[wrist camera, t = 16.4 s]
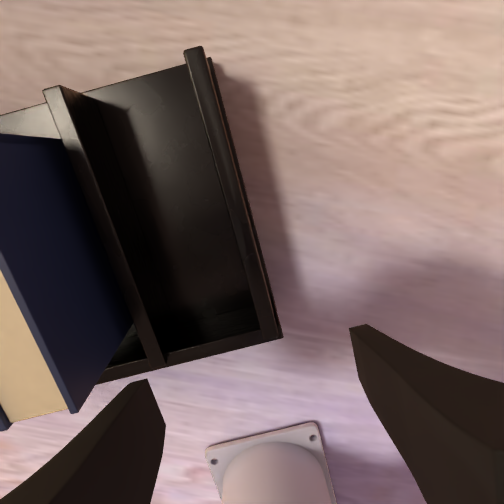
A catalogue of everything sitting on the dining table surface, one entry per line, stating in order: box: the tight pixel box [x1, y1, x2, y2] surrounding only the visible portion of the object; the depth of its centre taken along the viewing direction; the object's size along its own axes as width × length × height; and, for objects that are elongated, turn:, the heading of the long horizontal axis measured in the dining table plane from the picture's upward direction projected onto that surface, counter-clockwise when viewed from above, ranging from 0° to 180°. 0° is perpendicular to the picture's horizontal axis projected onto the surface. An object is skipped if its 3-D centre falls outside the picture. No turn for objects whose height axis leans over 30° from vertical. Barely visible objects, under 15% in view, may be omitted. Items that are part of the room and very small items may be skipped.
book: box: [0, 133, 133, 431], centre depth 15 cm, size 10×3×8 cm, turn 14°
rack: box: [0, 46, 283, 385], centre depth 18 cm, size 14×19×4 cm
